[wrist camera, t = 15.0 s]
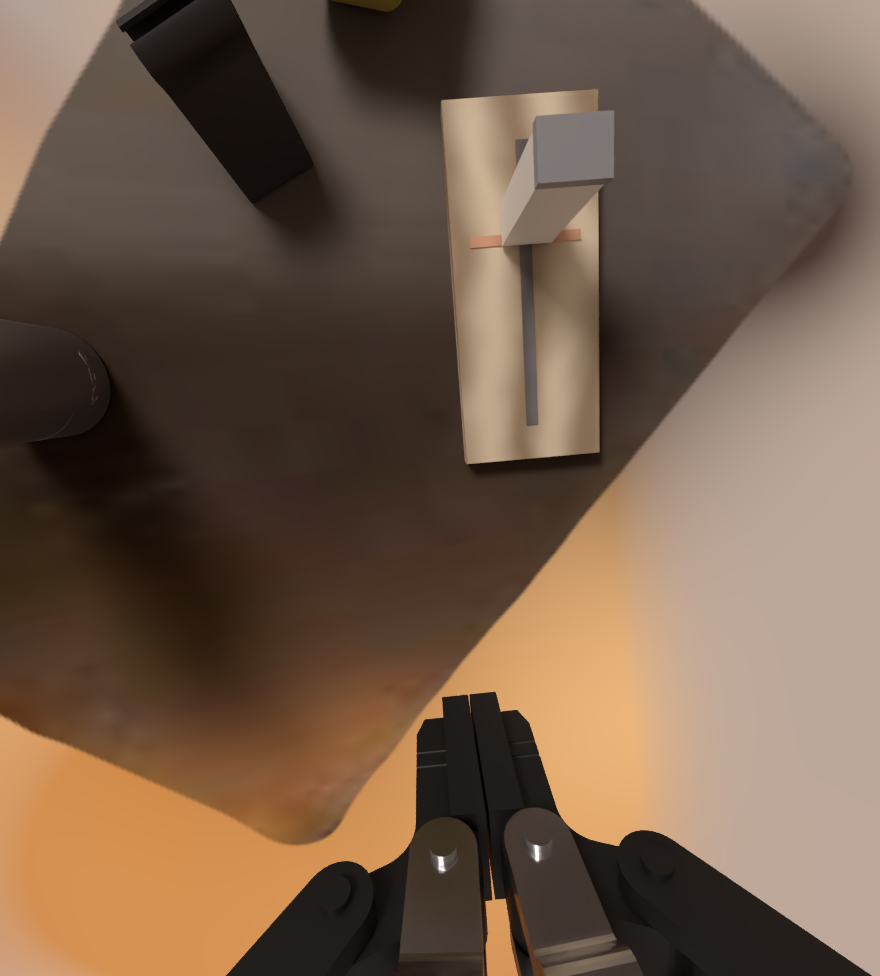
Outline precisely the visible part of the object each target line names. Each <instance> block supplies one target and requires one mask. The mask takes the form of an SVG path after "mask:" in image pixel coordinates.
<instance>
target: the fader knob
mask: <svg viewBox="0 0 880 976" xmlns="http://www.w3.org/2000/svg"><path fill="white" fill-rule="evenodd" d="M532 126H533V130H532V133H531V135H530V137H529V140H528V142H527V144H526V146H525V149H524V151H523V153H522V156H521V158H520V160H519V162H518V165H517V167H516V169H515V172H514V174H513V176H512V178H511V181H510V183H509V185H508V188H507V190H506V192H505V194H504V197H503V199H502V201H501V203H500V217H501V238H502V246H513V245H526V244H539V243H551V242H552V241H553V240H554V239H555V238H556V237H557V236H558V235H559V233H560V232H561V231H562V230H563V229H564V228H565V227H566V226H567V225H568V224H569V223H570V221H571V220H572V219H573V218H574V217H575V216H576V215H577V214H578V213H579V212H580V210H581V209H582V208H583V207H584V206H585V205H586V204H587V203H588V202H589V201H590V199H591V198H592V197H593V196H594V195H595V194H596V193H597V192H598V191H599V190H600V188H601V187H602V186H603V185H604V184H608V183H609V182H610V181H611V180H612V179H613V178H614V110H610V111H596V112H582V113H568V114H554V115H541V116H536V117H535V120H534V122H533V124H532Z"/></svg>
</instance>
